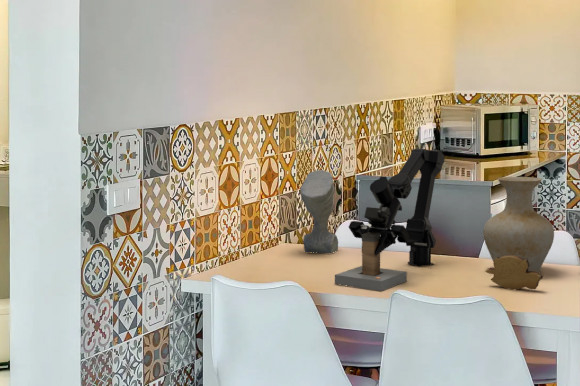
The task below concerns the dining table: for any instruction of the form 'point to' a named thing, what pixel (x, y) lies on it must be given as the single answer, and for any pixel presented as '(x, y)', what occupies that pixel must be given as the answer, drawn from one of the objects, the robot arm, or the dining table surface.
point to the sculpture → (319, 211)
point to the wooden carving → (514, 273)
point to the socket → (371, 279)
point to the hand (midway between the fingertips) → (368, 253)
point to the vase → (519, 225)
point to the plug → (370, 254)
